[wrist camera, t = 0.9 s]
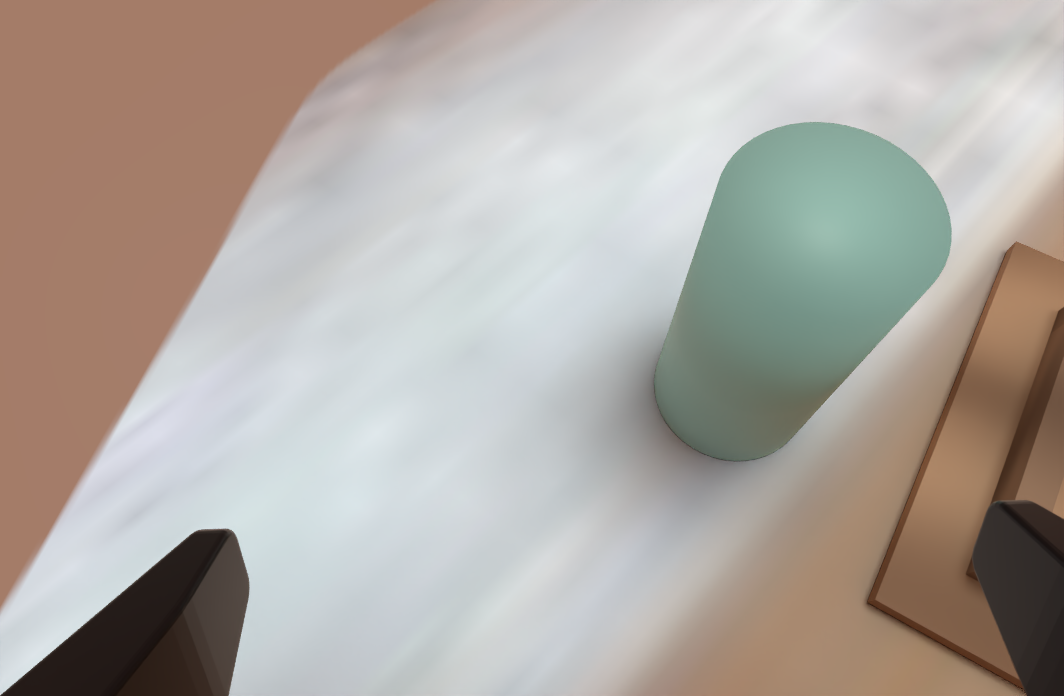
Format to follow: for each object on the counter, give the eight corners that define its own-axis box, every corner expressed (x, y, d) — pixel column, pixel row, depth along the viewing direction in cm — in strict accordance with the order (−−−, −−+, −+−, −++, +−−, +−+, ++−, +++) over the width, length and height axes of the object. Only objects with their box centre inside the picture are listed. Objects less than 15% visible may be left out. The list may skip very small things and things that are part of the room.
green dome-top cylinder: (838, 404, 26) (1001, 235, 17) (722, 491, 24) (830, 361, 15) (736, 295, 27) (833, 88, 18) (623, 371, 26) (667, 191, 17)
